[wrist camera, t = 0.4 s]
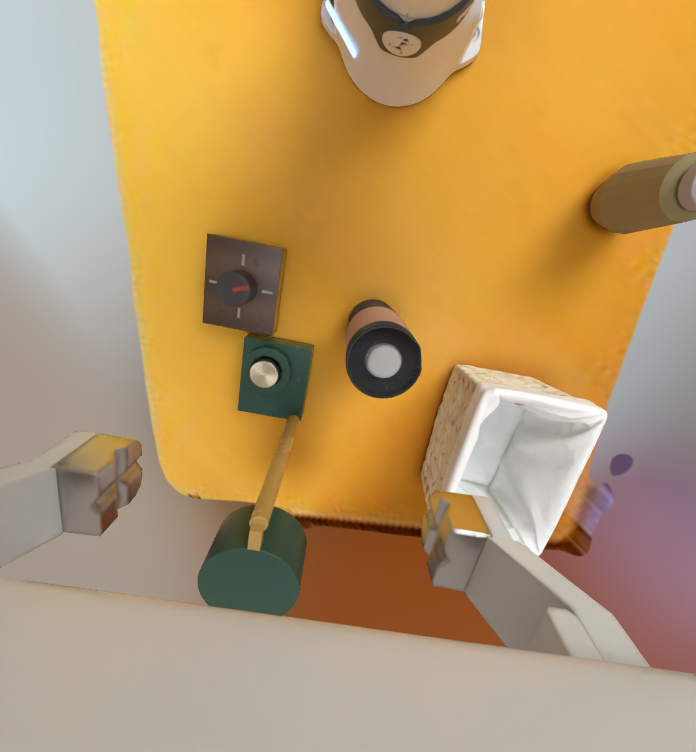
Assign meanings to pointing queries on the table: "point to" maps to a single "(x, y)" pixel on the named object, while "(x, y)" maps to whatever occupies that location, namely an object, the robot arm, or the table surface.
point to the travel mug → (380, 351)
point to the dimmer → (261, 266)
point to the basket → (511, 447)
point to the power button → (265, 372)
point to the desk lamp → (258, 549)
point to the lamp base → (290, 384)
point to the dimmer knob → (236, 288)
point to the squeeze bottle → (647, 195)
